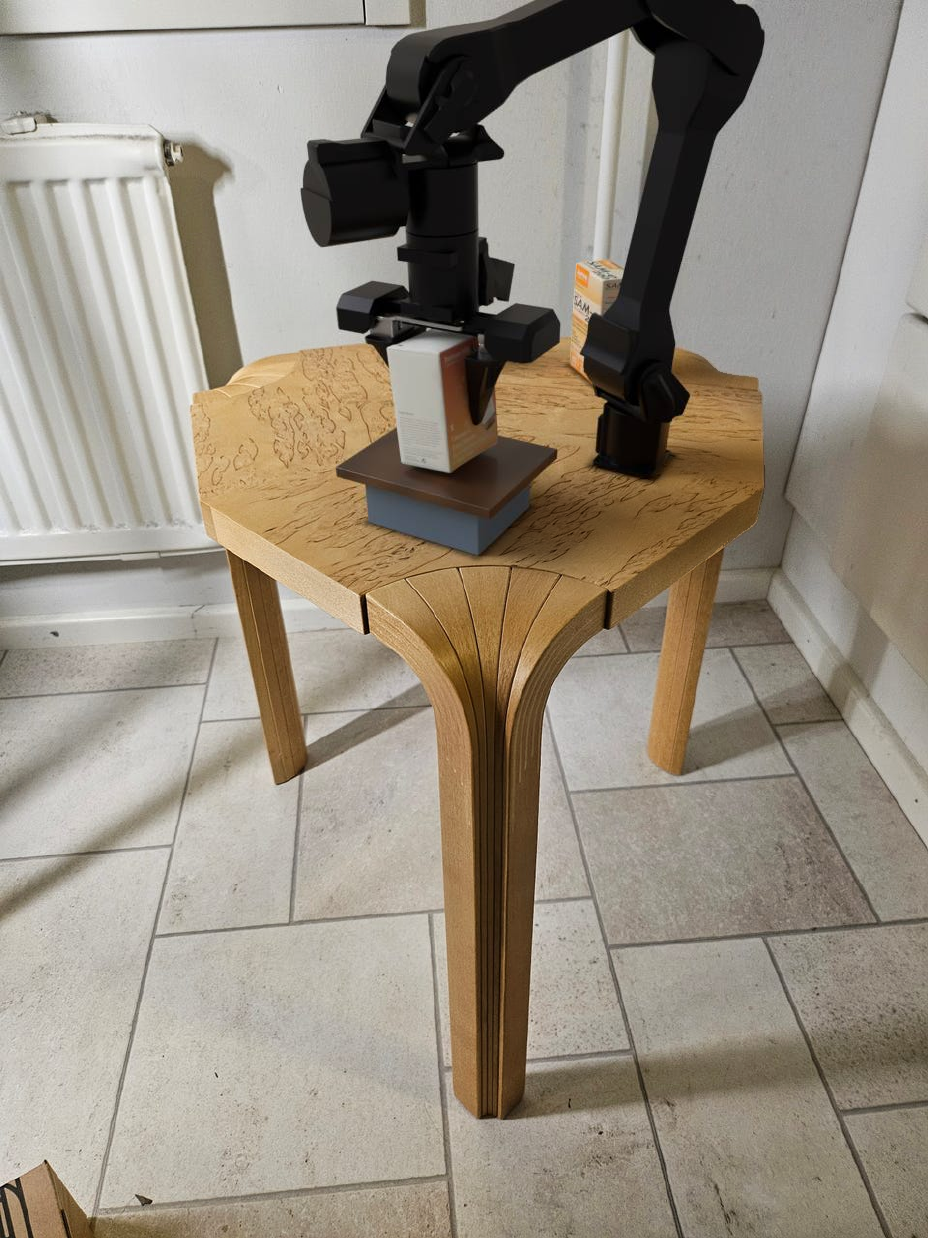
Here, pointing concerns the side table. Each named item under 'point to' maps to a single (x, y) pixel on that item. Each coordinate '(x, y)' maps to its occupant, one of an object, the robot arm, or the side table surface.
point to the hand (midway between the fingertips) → (448, 416)
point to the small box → (437, 401)
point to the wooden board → (452, 474)
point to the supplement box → (591, 301)
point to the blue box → (441, 519)
